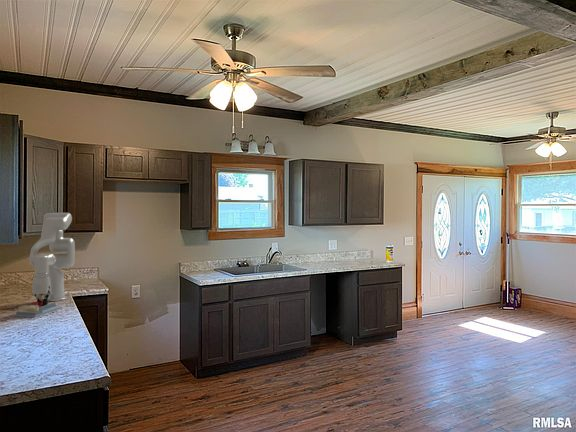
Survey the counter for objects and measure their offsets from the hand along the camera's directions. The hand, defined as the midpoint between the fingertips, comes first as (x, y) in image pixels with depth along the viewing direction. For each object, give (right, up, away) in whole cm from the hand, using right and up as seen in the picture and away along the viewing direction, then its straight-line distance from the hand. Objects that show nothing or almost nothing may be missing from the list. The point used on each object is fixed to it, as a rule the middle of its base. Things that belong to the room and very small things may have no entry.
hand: (42, 304), depth 270 cm
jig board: (0, -4, -4) cm, 5 cm away
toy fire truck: (0, -2, -1) cm, 2 cm away
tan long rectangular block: (-1, -3, -12) cm, 12 cm away
